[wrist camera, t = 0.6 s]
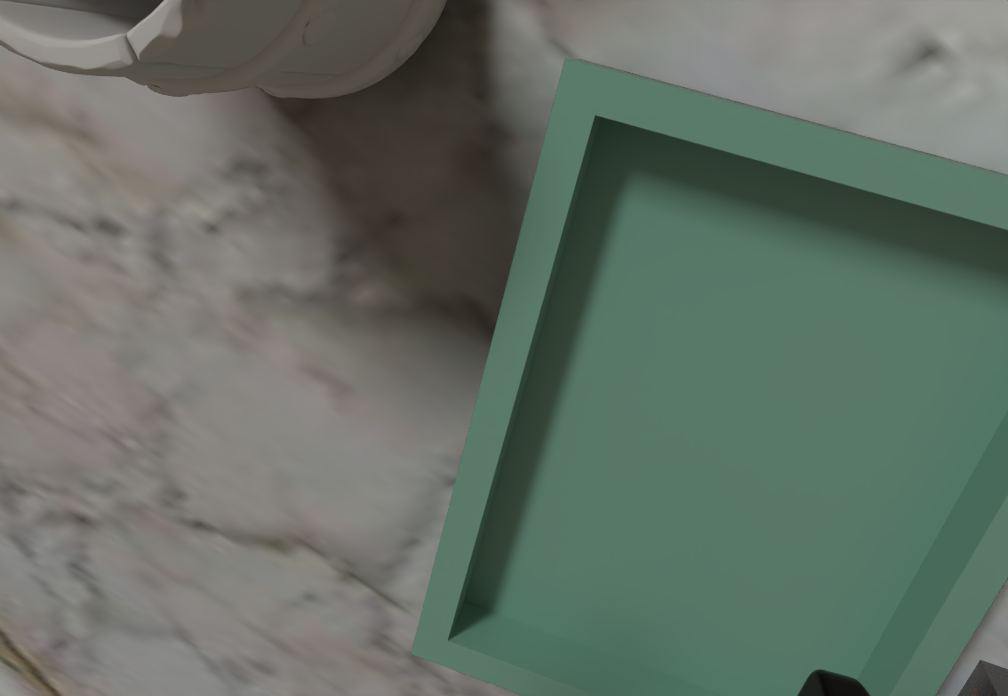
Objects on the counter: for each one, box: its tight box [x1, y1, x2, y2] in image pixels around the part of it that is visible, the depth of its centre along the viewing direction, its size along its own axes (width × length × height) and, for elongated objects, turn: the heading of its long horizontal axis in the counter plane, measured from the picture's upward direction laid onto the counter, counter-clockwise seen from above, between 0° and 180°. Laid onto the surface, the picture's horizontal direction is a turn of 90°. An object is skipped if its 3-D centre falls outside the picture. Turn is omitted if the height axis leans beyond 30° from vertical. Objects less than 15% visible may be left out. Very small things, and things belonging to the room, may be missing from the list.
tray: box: [411, 59, 1008, 696], centre depth 21 cm, size 18×14×2 cm
